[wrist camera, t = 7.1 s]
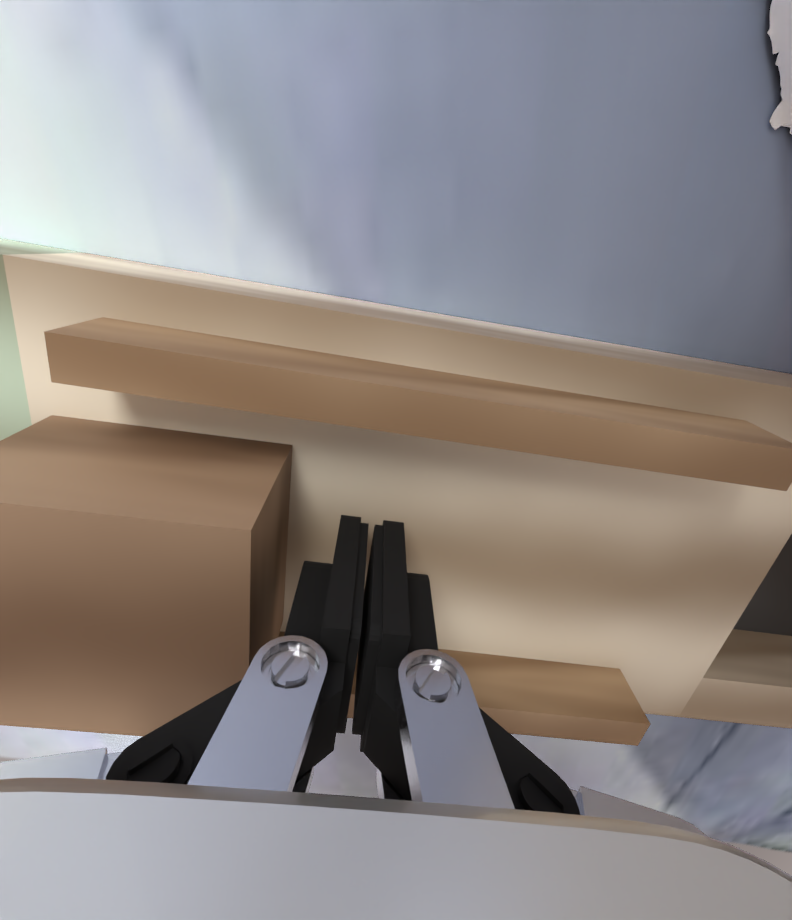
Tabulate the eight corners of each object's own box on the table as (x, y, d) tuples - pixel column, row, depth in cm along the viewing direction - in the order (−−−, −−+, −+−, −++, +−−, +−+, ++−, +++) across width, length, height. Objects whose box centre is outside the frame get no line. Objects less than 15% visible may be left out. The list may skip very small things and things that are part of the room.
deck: (-234, 198, 12) (-604, 169, 8) (1085, 424, 15) (1375, 498, 11) (-106, 566, 17) (-284, 681, 13) (874, 678, 20) (1013, 801, 16)
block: (51, 415, 12) (-101, 491, 8) (292, 444, 12) (250, 530, 8) (84, 600, 14) (-22, 723, 10) (283, 619, 15) (247, 744, 11)
